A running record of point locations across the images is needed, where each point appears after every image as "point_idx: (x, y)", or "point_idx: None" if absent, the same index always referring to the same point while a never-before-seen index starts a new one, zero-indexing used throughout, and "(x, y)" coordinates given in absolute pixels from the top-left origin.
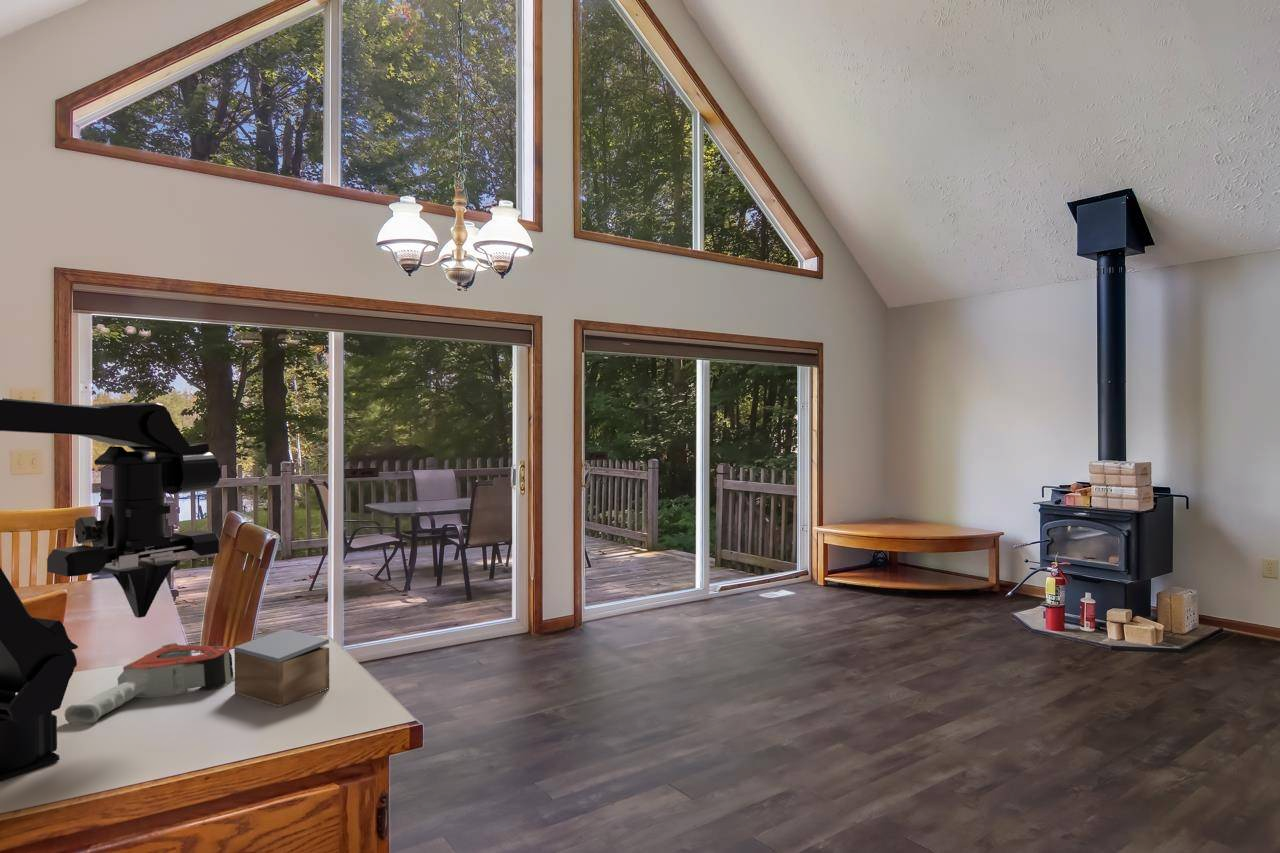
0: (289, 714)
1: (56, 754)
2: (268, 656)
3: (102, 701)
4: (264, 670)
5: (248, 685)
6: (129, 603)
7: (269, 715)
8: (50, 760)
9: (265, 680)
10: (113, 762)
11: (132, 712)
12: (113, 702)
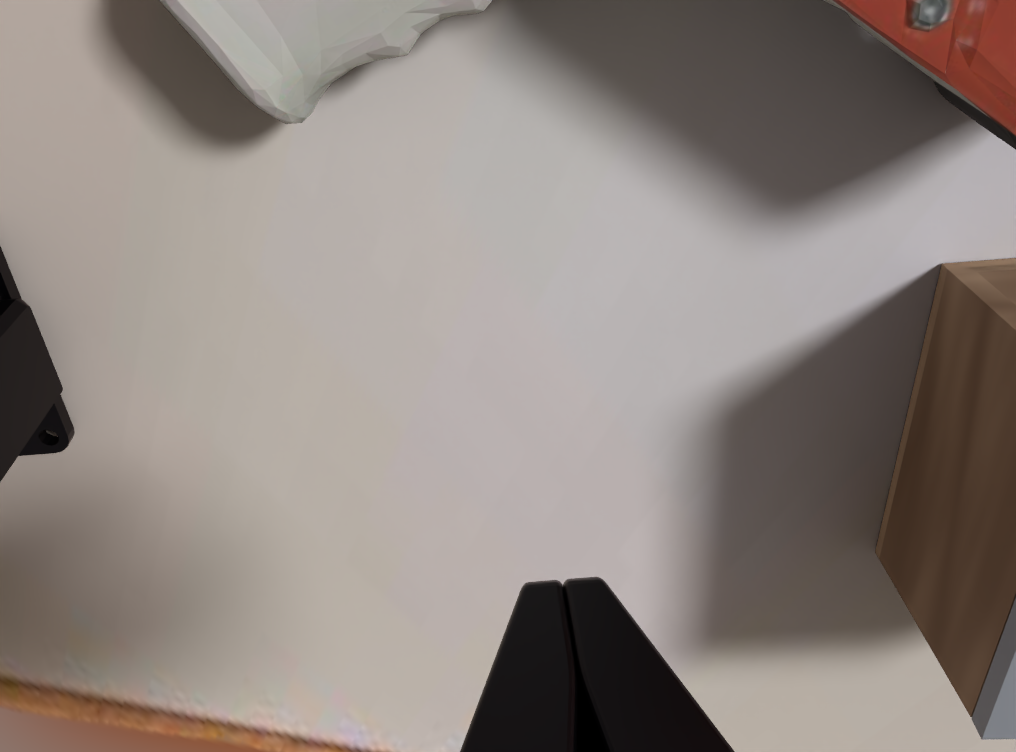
0: (835, 624)
1: (59, 424)
2: (1001, 680)
3: (339, 64)
4: (969, 585)
5: (948, 405)
6: (473, 726)
7: (796, 587)
8: (35, 453)
9: (941, 554)
10: (236, 569)
11: (496, 89)
12: (410, 49)
